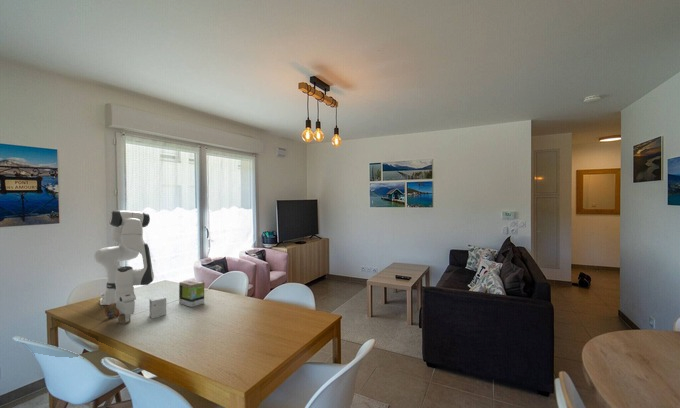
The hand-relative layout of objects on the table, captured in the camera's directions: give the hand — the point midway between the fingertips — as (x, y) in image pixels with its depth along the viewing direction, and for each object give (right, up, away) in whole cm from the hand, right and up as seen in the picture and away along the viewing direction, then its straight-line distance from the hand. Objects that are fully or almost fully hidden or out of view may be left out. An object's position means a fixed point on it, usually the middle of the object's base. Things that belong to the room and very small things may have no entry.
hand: (124, 319), depth 166 cm
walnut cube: (0, -2, 0) cm, 2 cm away
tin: (-12, -2, +11) cm, 16 cm away
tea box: (+23, -2, +32) cm, 39 cm away
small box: (+13, -2, +10) cm, 17 cm away
